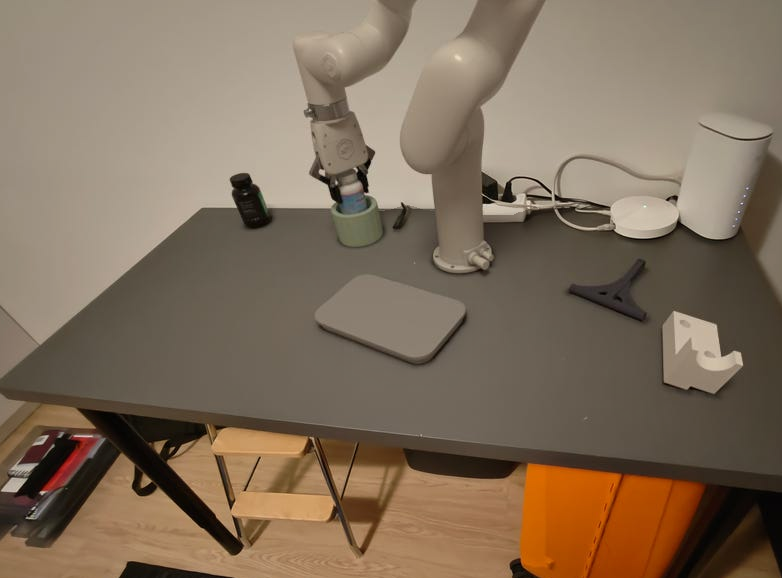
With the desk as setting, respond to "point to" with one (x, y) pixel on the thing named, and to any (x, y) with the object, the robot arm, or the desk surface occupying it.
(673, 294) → the desk surface
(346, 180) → the pill bottle
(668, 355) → the bracket
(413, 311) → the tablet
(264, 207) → the supplement bottle
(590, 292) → the bracket
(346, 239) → the green cylindrical sleeve
